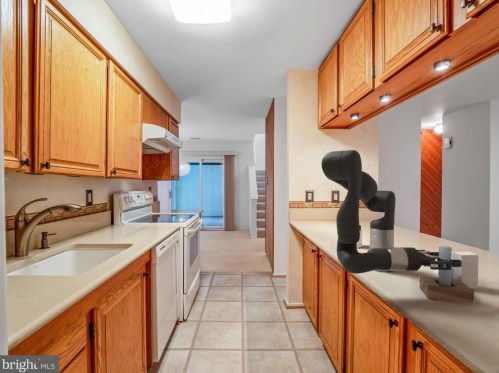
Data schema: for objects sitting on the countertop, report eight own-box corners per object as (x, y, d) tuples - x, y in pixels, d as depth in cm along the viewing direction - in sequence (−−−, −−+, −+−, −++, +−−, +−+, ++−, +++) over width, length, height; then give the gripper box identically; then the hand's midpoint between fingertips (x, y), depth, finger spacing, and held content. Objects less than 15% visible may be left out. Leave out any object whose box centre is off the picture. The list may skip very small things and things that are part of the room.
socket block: (419, 287, 96) (419, 276, 96) (459, 291, 93) (459, 279, 93) (428, 299, 87) (428, 287, 87) (473, 304, 83) (474, 291, 83)
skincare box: (468, 284, 99) (468, 251, 98) (478, 289, 95) (479, 254, 94) (451, 284, 99) (452, 251, 98) (461, 289, 94) (462, 255, 94)
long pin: (436, 292, 92) (437, 245, 91) (448, 293, 91) (449, 246, 90) (440, 296, 89) (441, 248, 88) (452, 298, 88) (453, 248, 87)
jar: (351, 243, 159) (351, 223, 159) (364, 246, 153) (364, 225, 153) (342, 246, 154) (342, 225, 154) (355, 249, 148) (355, 227, 147)
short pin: (440, 284, 99) (440, 265, 98) (451, 285, 98) (451, 266, 97) (443, 288, 95) (444, 268, 95) (455, 289, 94) (455, 269, 94)
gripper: (413, 253, 83) (468, 253, 82) (390, 242, 97) (437, 242, 96) (412, 278, 83) (467, 278, 82) (390, 263, 97) (437, 263, 97)
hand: (451, 259), depth 89 cm, fingers open, 8 cm apart
